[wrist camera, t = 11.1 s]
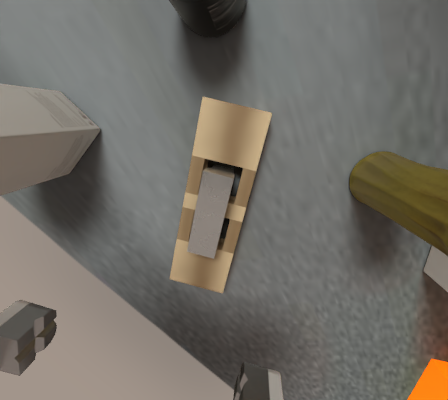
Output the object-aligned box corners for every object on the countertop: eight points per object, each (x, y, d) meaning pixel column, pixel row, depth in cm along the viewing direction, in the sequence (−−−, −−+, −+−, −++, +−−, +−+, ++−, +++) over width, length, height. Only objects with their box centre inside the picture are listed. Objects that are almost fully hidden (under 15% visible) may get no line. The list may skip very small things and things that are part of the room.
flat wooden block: (176, 265, 34) (169, 279, 31) (208, 99, 26) (202, 96, 24) (225, 278, 33) (222, 293, 30) (270, 114, 26) (272, 112, 23)
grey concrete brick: (198, 228, 31) (186, 251, 26) (213, 161, 28) (203, 170, 23) (221, 234, 31) (214, 258, 26) (237, 167, 28) (233, 178, 23)
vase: (420, 170, 26) (598, 220, 13) (379, 214, 28) (497, 298, 15) (374, 140, 26) (508, 158, 12) (337, 186, 28) (417, 247, 14)
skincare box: (62, 90, 28) (-150, 52, 13) (105, 131, 29) (-48, 140, 14) (29, 142, 30) (-182, 159, 16) (70, 179, 31) (-92, 227, 17)
